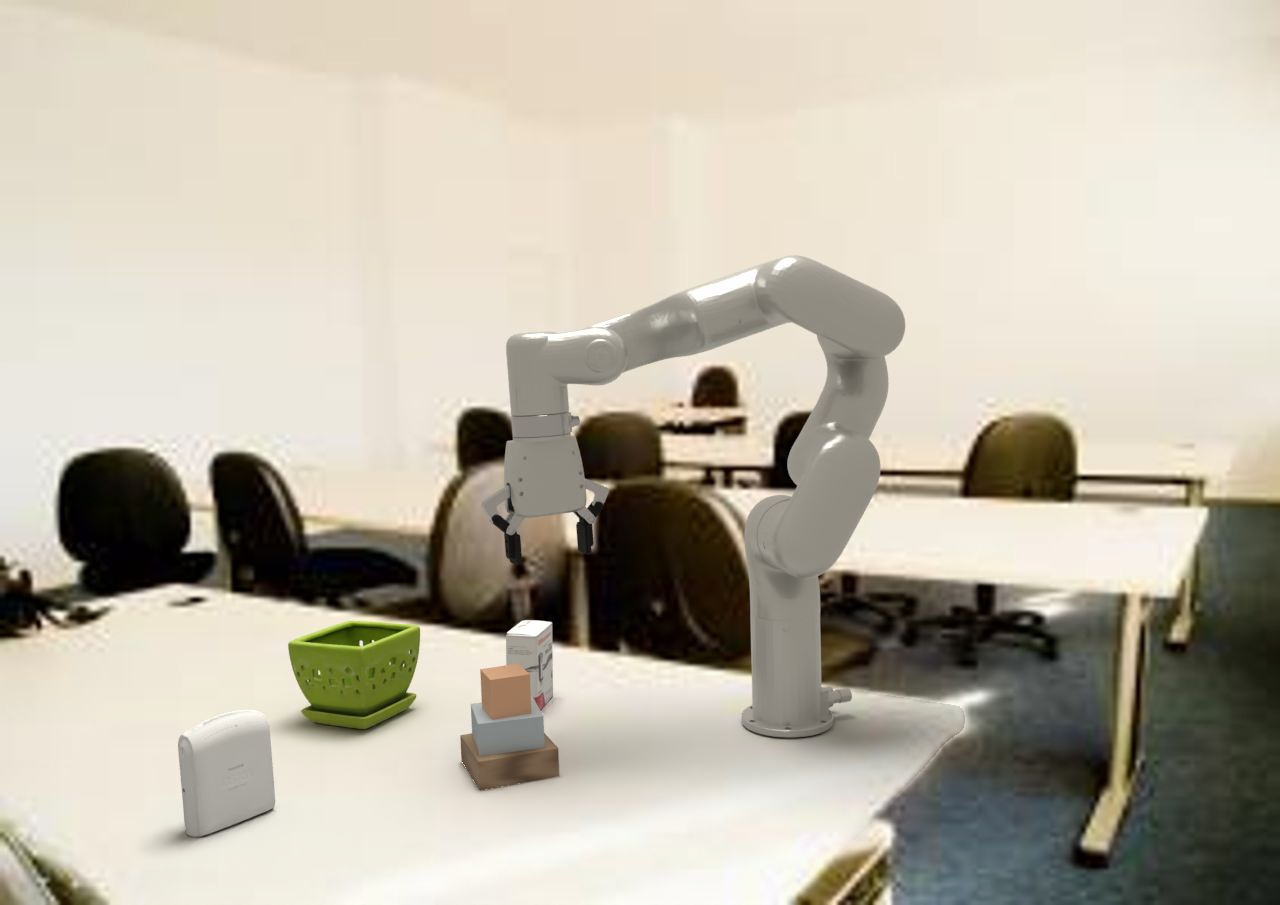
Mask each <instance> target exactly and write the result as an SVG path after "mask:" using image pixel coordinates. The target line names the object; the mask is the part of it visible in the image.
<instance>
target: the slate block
mask: <svg viewBox="0 0 1280 905" xmlns="http://www.w3.org/2000/svg"><path fill="white" fill-rule="evenodd" d="M470 712H471V713H470V716H471V718H470V719H471V720H470V721H471V733H472V735H473V738H474V741H475V744H476V747H477V750H478V753H479V756H485V755H492V754H500V753H508V752H515V751H523V750H531V749H538V748H545V742H544V733H545V723H544V721H545V719H544V715H543V713H542V711H541V710H540V709H539V707H538V706H537V704H536V702H535V700H534V698H533V697H531V714H525V715H519V716H513V717H507V718H501V719H494V720H492V719H491V718H490V717H489V715H488V714H487V713H486V712H485V711H484V709H483V708H482V701H481V702H475V703H474V702H473V703H470Z"/></svg>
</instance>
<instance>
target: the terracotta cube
mask: <svg viewBox="0 0 1280 905" xmlns="http://www.w3.org/2000/svg"><path fill="white" fill-rule="evenodd" d="M479 670H480V692H481V702H482V708H483V709H484V711H485V712H486V713H487V714H488V715H489V717H490V718H491V719H492V720H494V719H501V718H507V717H513V716H519V715H525V714H531V690H530V674H529V673H528V672H527V671H526V670H525V669H524V668H523V667H522V666H521V665H520V664H512V665H506V664H505V665H498V666H493V667H485V668H480V669H479Z"/></svg>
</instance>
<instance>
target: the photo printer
mask: <svg viewBox="0 0 1280 905" xmlns="http://www.w3.org/2000/svg"><path fill="white" fill-rule="evenodd" d="M177 751H178V763H179V773H180V786H181V796H182V807H183V808H182V809H183V820H184V827H185V832H186V834H187V835H188V836H190V837H192V838H193V837H194V838H201V837H202V836H207V835H210V834H212V833H215V832H218V831H220V830H223V829H225V828H229V827H230V826H233V825H236V824H239V823H240V822H243V821H246V820H248V819H251V818H254V817H256V816H258V815H260V814H263V813H266V812H268V811H270V810H272V809H274V808H275V807H276V794H275V780H274V779H275V778H274V767H273V765H274V764H273V753H272V741H271V730H270V725H269V721H268V718H267V716H266V715H265V714H264V712H262V711H261V712H260V711H259V710H255V709H239V710H233V711H228V712H223V713H220V714H217V715H215V716H212V717H209V718H207V719H205V720H202V721H200V722H199V723H196V724H195V725H193V726H192V727H190V728H188V729H187V730H186V731H184V732H183V733H182V734H181V735H179V738H178V741H177Z"/></svg>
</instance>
